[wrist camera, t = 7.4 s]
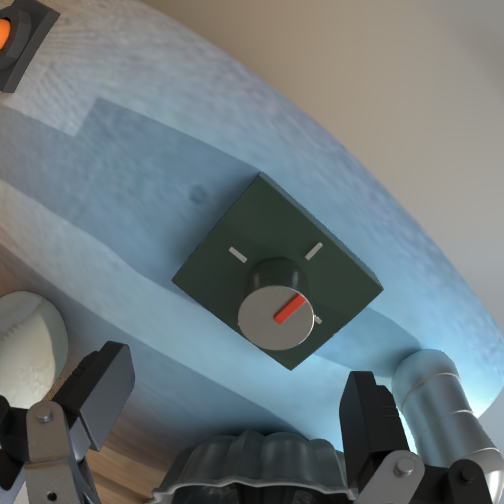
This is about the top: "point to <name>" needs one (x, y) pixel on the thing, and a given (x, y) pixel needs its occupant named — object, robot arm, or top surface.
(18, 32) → the button block
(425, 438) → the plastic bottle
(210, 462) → the bundt pan
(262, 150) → the top surface
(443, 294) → the top surface
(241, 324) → the dial
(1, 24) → the button
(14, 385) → the off-white tall tapered cylinder
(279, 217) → the panel
